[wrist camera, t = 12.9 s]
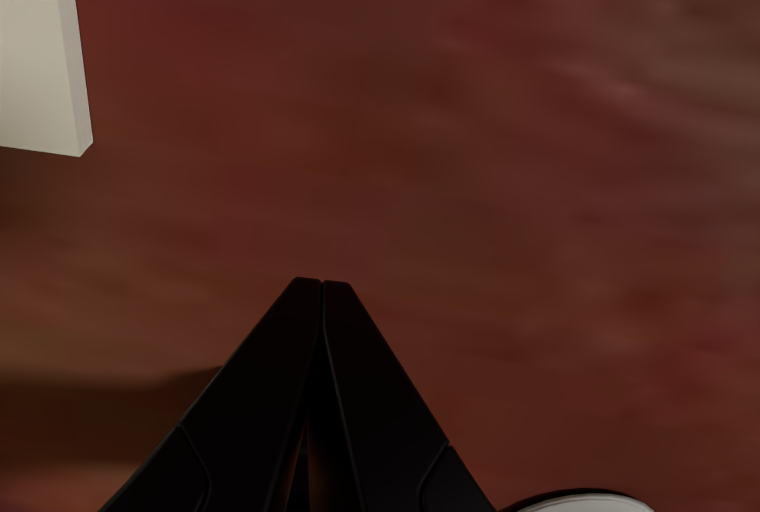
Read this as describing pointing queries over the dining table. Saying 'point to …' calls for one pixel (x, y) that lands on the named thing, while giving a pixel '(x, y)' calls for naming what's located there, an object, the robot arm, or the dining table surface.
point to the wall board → (42, 78)
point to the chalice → (589, 504)
